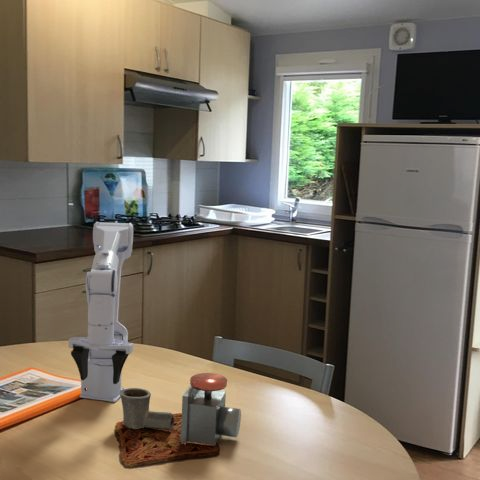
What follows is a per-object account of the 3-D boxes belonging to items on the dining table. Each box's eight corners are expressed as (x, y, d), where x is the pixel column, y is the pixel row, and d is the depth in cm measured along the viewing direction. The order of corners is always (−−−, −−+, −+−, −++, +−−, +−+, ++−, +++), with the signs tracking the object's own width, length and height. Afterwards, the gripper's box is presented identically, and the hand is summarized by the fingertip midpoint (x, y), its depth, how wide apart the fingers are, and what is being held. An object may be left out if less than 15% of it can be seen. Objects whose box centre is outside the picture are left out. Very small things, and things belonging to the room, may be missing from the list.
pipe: (168, 437, 135) (169, 403, 134) (113, 429, 138) (113, 395, 137) (176, 425, 141) (177, 392, 140) (123, 418, 144) (124, 385, 143)
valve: (178, 444, 132) (180, 386, 130) (192, 422, 143) (195, 368, 141) (231, 452, 130) (235, 393, 128) (242, 429, 141) (245, 374, 139)
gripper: (62, 324, 136) (62, 383, 138) (126, 330, 133) (124, 390, 135) (76, 315, 143) (75, 372, 145) (136, 321, 140) (135, 379, 142)
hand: (100, 380), depth 141 cm, fingers open, 7 cm apart
